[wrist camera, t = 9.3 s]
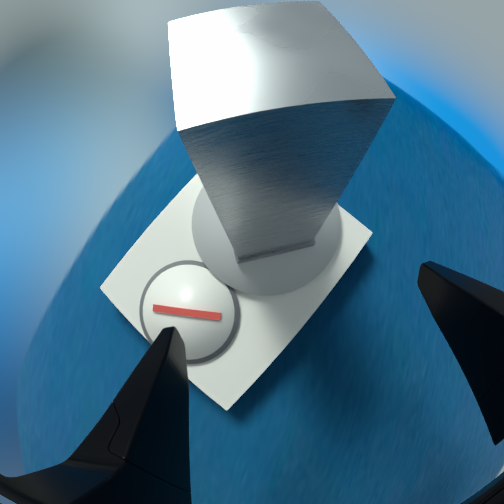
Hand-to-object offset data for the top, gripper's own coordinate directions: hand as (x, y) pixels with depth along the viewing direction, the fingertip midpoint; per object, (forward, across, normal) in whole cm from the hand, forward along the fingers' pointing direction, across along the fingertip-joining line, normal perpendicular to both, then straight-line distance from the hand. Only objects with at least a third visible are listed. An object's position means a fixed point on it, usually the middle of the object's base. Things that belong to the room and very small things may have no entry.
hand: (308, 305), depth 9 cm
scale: (+10, +3, +4) cm, 11 cm away
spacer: (+10, 0, +1) cm, 10 cm away
